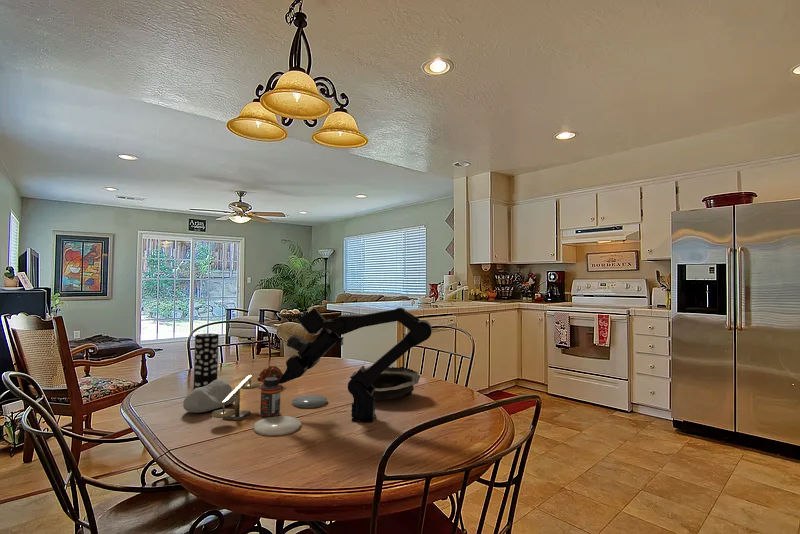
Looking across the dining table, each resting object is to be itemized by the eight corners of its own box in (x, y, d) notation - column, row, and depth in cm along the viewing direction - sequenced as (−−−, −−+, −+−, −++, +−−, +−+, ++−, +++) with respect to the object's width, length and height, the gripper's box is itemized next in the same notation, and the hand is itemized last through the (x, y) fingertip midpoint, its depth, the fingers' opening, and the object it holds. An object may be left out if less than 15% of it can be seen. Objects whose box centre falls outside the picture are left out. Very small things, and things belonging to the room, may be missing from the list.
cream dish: (307, 421, 127) (307, 417, 127) (289, 437, 114) (290, 433, 114) (266, 418, 128) (266, 414, 128) (245, 433, 116) (245, 430, 116)
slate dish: (331, 398, 150) (331, 396, 150) (320, 409, 138) (320, 406, 138) (299, 396, 151) (299, 394, 152) (286, 406, 140) (286, 403, 140)
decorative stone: (219, 391, 147) (229, 370, 144) (235, 411, 143) (246, 390, 140) (172, 408, 132) (182, 385, 128) (189, 431, 128) (200, 408, 125)
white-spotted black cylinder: (193, 384, 165) (195, 333, 165) (216, 382, 169) (218, 333, 169) (193, 389, 158) (195, 336, 158) (217, 387, 161) (218, 336, 161)
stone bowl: (421, 388, 166) (422, 365, 165) (417, 413, 141) (418, 386, 141) (360, 384, 168) (361, 362, 168) (346, 408, 144) (347, 382, 143)
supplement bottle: (256, 415, 131) (257, 379, 131) (270, 410, 136) (271, 375, 136) (270, 418, 128) (271, 381, 128) (283, 413, 133) (284, 377, 133)
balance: (262, 406, 140) (263, 373, 140) (227, 430, 118) (228, 391, 118) (245, 405, 140) (245, 372, 141) (206, 428, 119) (207, 389, 119)
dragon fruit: (279, 393, 161) (260, 392, 168) (292, 376, 167) (273, 376, 174) (267, 377, 158) (248, 377, 165) (281, 361, 164) (262, 361, 171)
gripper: (311, 323, 141) (278, 354, 142) (293, 330, 123) (256, 366, 123) (333, 347, 140) (300, 379, 141) (319, 358, 122) (281, 394, 122)
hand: (285, 379), depth 132 cm, fingers open, 9 cm apart
